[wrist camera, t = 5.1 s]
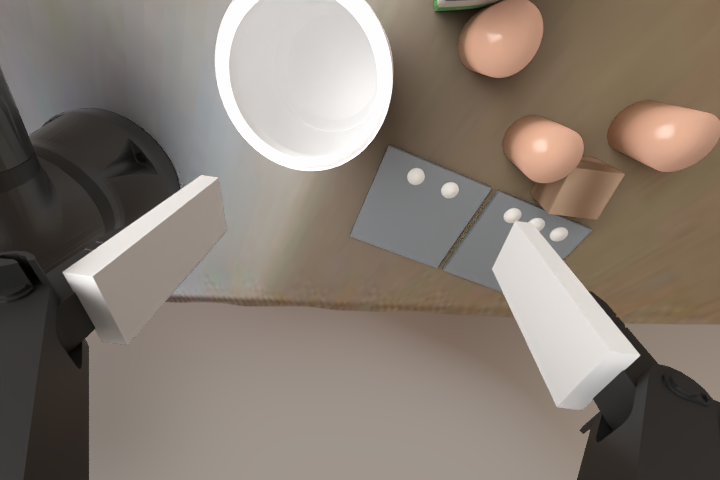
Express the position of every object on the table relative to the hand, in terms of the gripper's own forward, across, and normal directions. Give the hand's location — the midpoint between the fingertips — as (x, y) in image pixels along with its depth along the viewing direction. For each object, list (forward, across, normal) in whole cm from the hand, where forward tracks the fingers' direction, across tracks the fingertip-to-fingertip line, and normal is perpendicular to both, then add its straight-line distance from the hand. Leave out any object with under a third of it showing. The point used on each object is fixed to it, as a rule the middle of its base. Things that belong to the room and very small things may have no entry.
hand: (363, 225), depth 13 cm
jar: (+22, -4, +4) cm, 23 cm away
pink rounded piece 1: (+22, +16, 0) cm, 27 cm away
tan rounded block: (+22, +9, +8) cm, 25 cm away
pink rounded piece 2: (+22, +26, +3) cm, 34 cm away
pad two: (+22, +6, -10) cm, 25 cm away
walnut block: (+22, +22, -3) cm, 31 cm away
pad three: (+22, +20, -13) cm, 33 cm away
